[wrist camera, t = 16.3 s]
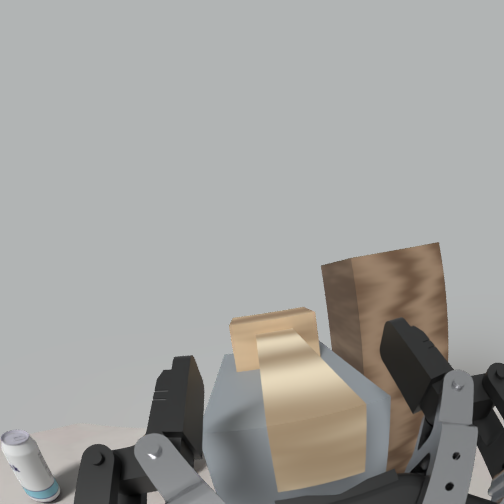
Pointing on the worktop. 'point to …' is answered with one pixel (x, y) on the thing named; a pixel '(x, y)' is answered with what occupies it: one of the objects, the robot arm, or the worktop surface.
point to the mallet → (301, 399)
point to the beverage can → (29, 466)
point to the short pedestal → (257, 442)
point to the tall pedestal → (378, 313)
